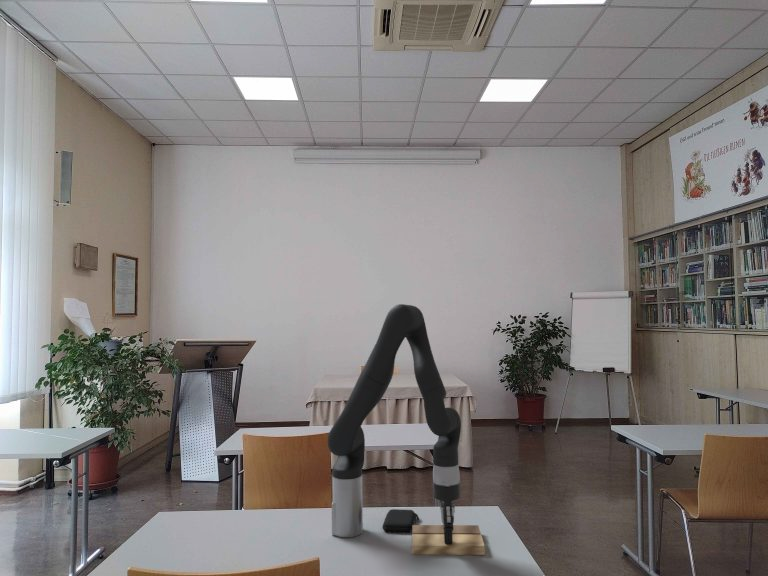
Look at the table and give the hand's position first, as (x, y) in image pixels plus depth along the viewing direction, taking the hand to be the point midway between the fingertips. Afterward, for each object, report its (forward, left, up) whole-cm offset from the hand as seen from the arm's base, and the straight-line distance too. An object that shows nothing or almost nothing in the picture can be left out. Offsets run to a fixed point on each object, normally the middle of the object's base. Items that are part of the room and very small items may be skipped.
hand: (448, 543), depth 152 cm
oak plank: (0, +2, -2) cm, 3 cm away
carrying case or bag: (-14, +20, -3) cm, 25 cm away
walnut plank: (0, +10, -3) cm, 10 cm away
